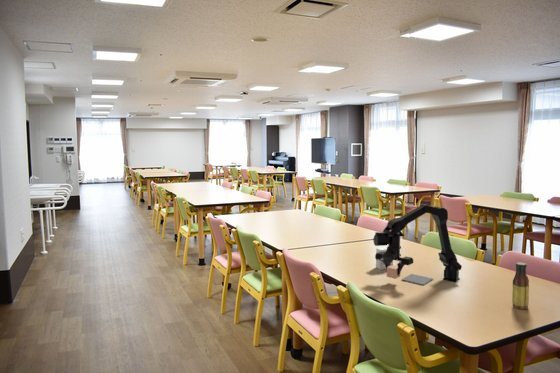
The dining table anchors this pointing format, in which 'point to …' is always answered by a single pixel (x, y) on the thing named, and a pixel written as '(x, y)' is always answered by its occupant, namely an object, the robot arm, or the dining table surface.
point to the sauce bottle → (520, 287)
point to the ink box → (379, 263)
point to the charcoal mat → (417, 279)
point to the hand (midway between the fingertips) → (393, 274)
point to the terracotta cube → (392, 271)
